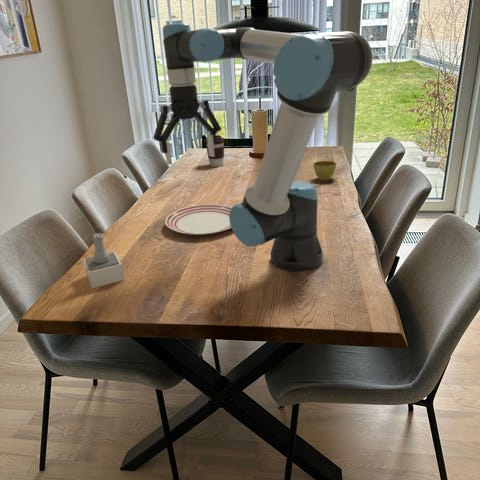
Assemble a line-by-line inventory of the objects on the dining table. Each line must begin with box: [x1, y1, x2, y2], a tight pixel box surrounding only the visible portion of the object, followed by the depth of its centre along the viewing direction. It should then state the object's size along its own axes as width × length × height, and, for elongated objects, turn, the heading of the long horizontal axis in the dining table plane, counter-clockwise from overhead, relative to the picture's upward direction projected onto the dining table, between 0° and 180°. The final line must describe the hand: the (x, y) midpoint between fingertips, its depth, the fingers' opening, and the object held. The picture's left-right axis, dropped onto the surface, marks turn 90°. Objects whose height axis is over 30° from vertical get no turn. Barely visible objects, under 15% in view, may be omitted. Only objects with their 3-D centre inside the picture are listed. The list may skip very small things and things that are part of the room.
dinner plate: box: [164, 203, 233, 236], centre depth 164 cm, size 28×27×3 cm
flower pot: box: [312, 160, 337, 182], centre depth 205 cm, size 10×10×7 cm
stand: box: [83, 252, 125, 289], centre depth 131 cm, size 9×9×5 cm
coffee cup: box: [204, 134, 225, 168], centre depth 237 cm, size 10×10×15 cm
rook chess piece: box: [91, 232, 110, 264], centre depth 128 cm, size 4×4×8 cm
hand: (191, 159), depth 137 cm, fingers open, 13 cm apart
